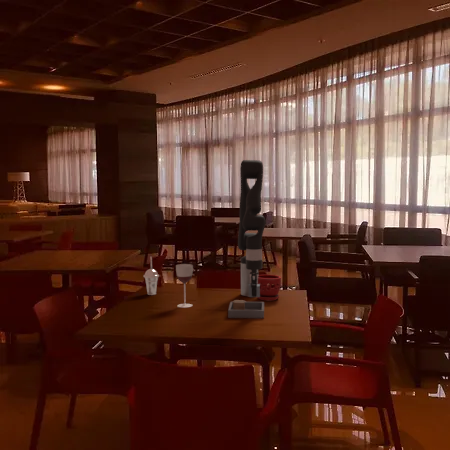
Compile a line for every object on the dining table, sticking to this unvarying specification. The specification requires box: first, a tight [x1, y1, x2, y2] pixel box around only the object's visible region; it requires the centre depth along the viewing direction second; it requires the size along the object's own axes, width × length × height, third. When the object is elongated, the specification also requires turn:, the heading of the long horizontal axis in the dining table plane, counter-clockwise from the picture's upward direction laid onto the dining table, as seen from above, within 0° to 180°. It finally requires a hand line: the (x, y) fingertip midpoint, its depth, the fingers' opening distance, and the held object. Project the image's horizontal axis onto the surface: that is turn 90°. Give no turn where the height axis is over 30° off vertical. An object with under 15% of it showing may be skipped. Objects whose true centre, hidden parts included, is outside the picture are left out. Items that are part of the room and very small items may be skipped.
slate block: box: [248, 284, 260, 298], centre depth 237 cm, size 5×5×5 cm
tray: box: [227, 301, 265, 319], centre depth 238 cm, size 16×16×4 cm
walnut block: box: [232, 299, 246, 310], centre depth 238 cm, size 5×5×5 cm
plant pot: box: [256, 274, 282, 302], centre depth 265 cm, size 13×13×12 cm
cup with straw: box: [143, 256, 160, 296], centre depth 278 cm, size 8×9×20 cm
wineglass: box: [175, 263, 194, 308], centre depth 253 cm, size 8×9×20 cm
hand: (254, 294), depth 237 cm, fingers closed on slate block, 5 cm apart
